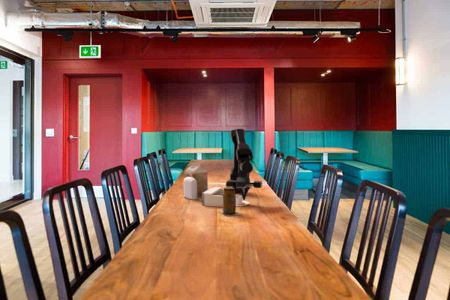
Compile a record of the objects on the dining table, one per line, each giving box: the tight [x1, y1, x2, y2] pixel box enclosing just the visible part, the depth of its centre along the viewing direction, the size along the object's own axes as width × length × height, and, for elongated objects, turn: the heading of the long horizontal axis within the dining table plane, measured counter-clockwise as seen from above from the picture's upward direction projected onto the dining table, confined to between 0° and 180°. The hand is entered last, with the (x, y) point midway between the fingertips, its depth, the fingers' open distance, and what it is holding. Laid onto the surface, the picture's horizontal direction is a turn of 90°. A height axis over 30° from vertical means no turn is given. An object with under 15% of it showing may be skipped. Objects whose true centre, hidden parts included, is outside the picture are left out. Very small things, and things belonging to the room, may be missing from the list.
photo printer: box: [182, 177, 198, 201], centre depth 169 cm, size 10×4×12 cm, turn 39°
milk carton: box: [183, 162, 209, 197], centre depth 179 cm, size 11×11×19 cm
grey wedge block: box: [201, 186, 224, 208], centre depth 159 cm, size 17×11×6 cm, turn 163°
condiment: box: [219, 186, 241, 217], centre depth 137 cm, size 7×8×12 cm
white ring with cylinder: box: [236, 195, 250, 207], centre depth 155 cm, size 12×12×4 cm
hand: (244, 199), depth 154 cm, fingers closed
